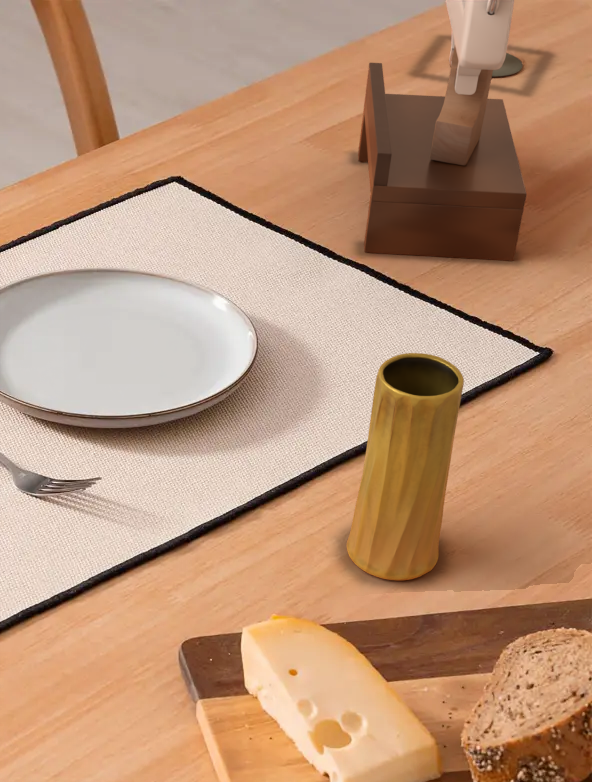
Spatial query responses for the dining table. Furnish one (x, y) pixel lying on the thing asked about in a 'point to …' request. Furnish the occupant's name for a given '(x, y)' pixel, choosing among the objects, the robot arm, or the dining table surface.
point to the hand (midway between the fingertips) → (461, 79)
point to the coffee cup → (508, 66)
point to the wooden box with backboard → (437, 181)
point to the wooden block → (460, 119)
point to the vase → (406, 467)
